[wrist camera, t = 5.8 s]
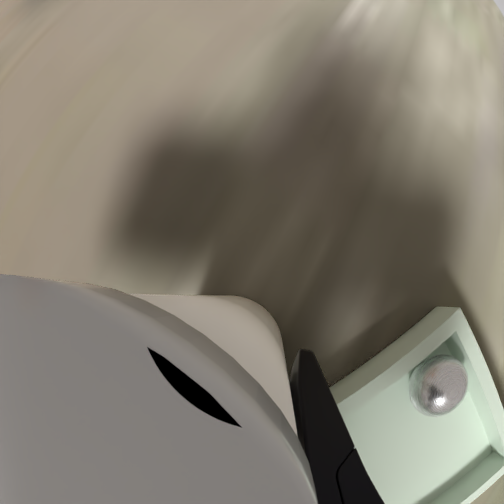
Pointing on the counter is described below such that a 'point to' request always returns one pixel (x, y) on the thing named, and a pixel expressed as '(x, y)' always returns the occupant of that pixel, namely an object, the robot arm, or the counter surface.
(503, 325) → the counter surface
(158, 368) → the cylinder
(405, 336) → the tray
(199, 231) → the counter surface
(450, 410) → the ball
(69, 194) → the counter surface
